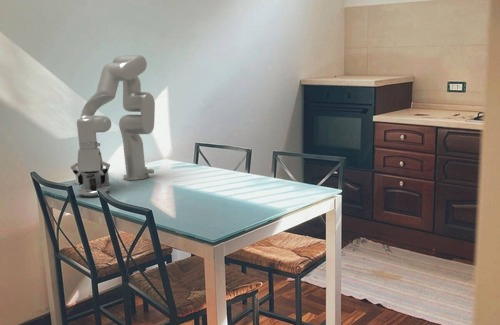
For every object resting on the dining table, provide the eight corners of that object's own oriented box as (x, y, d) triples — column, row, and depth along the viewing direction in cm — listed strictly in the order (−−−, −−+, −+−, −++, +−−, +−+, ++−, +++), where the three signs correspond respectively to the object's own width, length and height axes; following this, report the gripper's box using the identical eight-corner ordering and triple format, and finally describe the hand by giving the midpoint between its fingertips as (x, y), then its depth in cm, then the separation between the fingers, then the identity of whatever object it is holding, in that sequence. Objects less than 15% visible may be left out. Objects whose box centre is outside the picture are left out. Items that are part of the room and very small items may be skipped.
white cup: (87, 184, 261) (84, 164, 259) (72, 184, 262) (70, 164, 260) (95, 180, 268) (92, 161, 266) (80, 180, 270) (78, 161, 268)
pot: (113, 180, 267) (111, 166, 265) (103, 189, 250) (101, 174, 248) (88, 181, 267) (87, 167, 265) (77, 190, 250) (76, 176, 248)
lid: (112, 190, 248) (110, 174, 246) (104, 197, 235) (102, 181, 234) (84, 191, 248) (82, 175, 246) (75, 199, 235) (73, 182, 234)
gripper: (110, 143, 240) (113, 181, 244) (71, 145, 241) (75, 182, 244) (105, 146, 233) (109, 185, 236) (65, 148, 233) (70, 186, 237)
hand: (92, 183), depth 240 cm, fingers open, 9 cm apart
